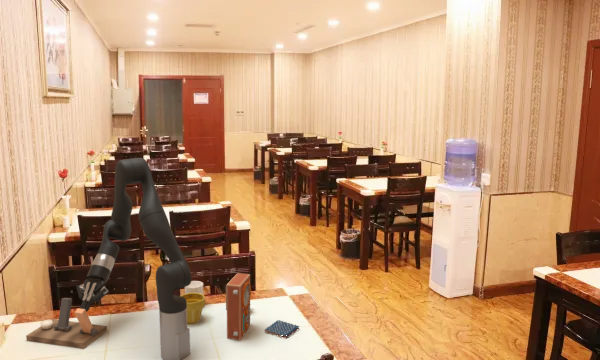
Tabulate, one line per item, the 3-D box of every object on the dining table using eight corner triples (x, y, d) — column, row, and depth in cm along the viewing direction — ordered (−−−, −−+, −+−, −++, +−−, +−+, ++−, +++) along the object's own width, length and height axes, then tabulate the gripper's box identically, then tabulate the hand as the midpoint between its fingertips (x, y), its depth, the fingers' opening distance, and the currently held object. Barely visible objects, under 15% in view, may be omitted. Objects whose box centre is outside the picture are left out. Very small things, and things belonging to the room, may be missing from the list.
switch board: (107, 330, 190) (107, 322, 189) (84, 348, 176) (83, 339, 176) (53, 323, 195) (52, 315, 194) (26, 340, 181) (25, 331, 181)
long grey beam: (67, 329, 186) (72, 298, 188) (64, 330, 184) (68, 299, 186) (60, 328, 187) (65, 297, 188) (57, 329, 185) (61, 298, 186)
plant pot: (207, 323, 197) (207, 300, 195) (181, 327, 193) (180, 304, 192) (202, 313, 207) (202, 290, 205) (177, 316, 203) (176, 294, 201)
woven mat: (277, 323, 200) (277, 318, 199) (300, 330, 194) (300, 325, 194) (262, 333, 191) (262, 328, 190) (286, 341, 185) (286, 335, 185)
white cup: (185, 310, 208) (184, 288, 207) (184, 303, 216) (184, 281, 214) (204, 309, 211) (203, 286, 209) (202, 301, 218) (202, 280, 216)
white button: (55, 325, 189) (54, 320, 188) (47, 329, 185) (47, 324, 184) (46, 323, 190) (45, 319, 189) (38, 328, 186) (38, 323, 185)
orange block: (94, 330, 184) (85, 309, 178) (91, 334, 183) (81, 313, 176) (87, 329, 185) (77, 308, 179) (84, 334, 183) (74, 312, 177)
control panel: (253, 324, 197) (241, 342, 183) (236, 322, 199) (223, 340, 184) (253, 273, 194) (240, 287, 179) (236, 271, 195) (222, 285, 181)
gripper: (81, 262, 187) (61, 306, 178) (112, 265, 184) (94, 310, 175) (91, 270, 193) (72, 313, 184) (121, 273, 190) (103, 317, 181)
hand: (83, 311), depth 179 cm, fingers closed
